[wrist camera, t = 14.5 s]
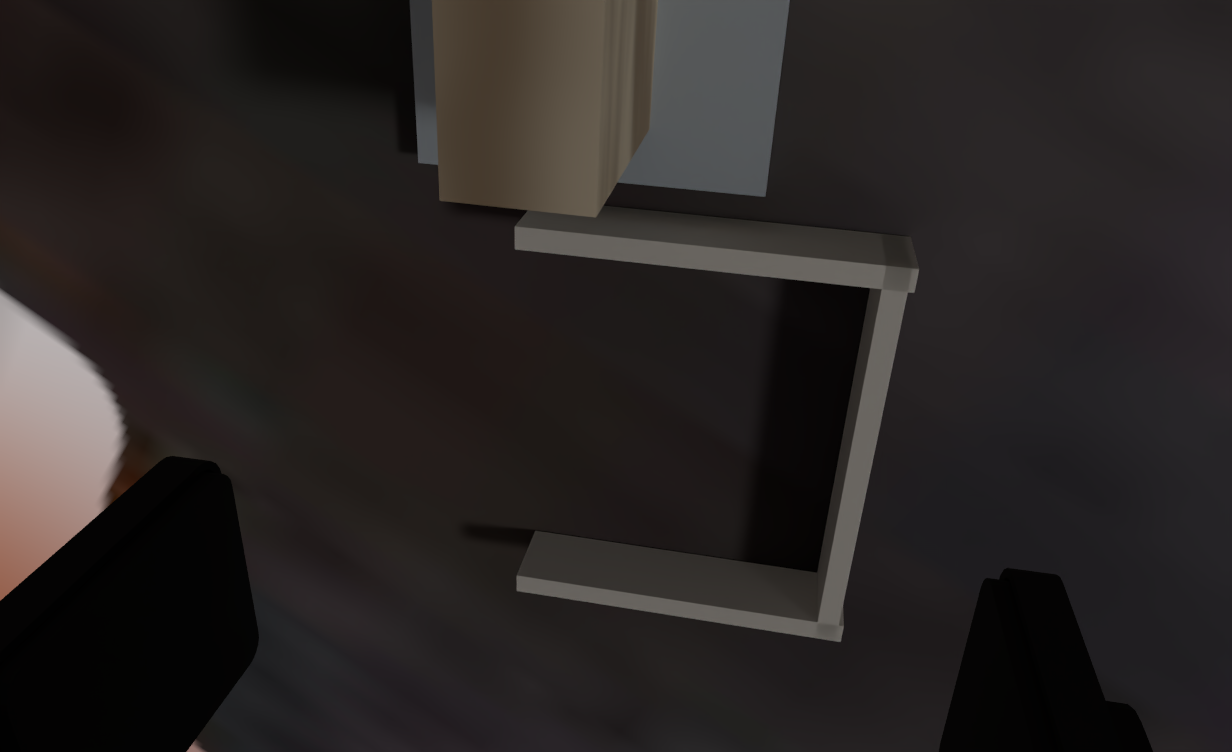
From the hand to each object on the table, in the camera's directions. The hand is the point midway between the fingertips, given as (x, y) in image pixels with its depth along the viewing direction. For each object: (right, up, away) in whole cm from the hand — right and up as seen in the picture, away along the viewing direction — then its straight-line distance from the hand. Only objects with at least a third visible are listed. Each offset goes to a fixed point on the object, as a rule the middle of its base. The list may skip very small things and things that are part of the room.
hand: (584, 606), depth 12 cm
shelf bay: (+4, +1, +25) cm, 26 cm away
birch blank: (0, +15, +18) cm, 23 cm away
